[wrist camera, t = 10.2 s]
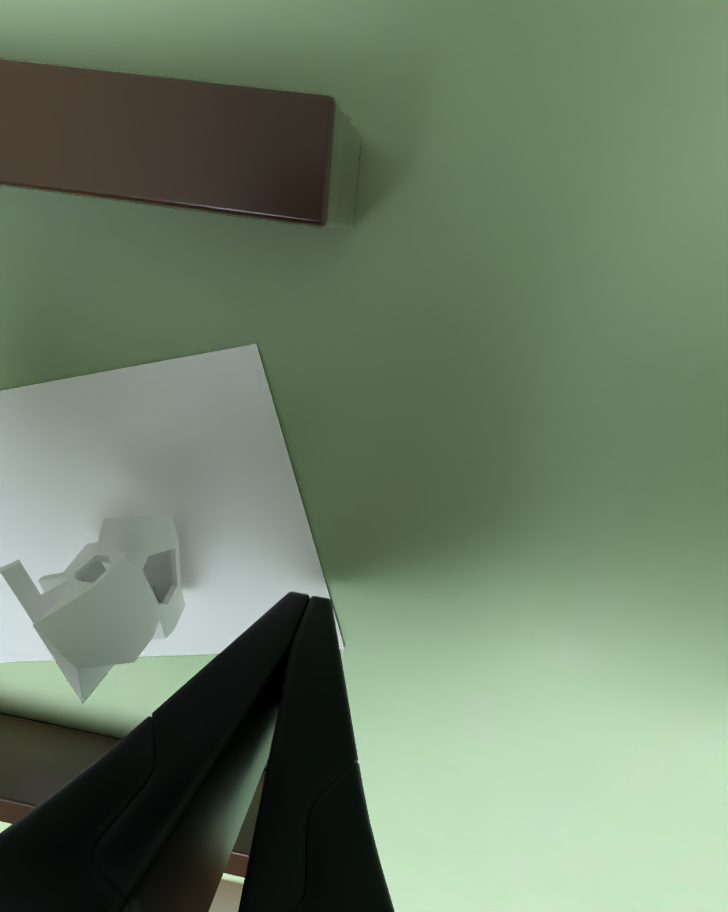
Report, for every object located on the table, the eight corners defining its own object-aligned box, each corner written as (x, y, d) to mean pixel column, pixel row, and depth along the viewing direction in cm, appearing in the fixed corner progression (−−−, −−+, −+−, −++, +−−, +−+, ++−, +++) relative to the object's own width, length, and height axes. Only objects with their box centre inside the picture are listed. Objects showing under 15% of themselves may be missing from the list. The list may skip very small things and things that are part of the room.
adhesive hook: (216, 593, 10) (136, 725, 8) (116, 600, 11) (7, 726, 8) (166, 475, 9) (50, 581, 6) (56, 488, 10) (-95, 592, 7)
